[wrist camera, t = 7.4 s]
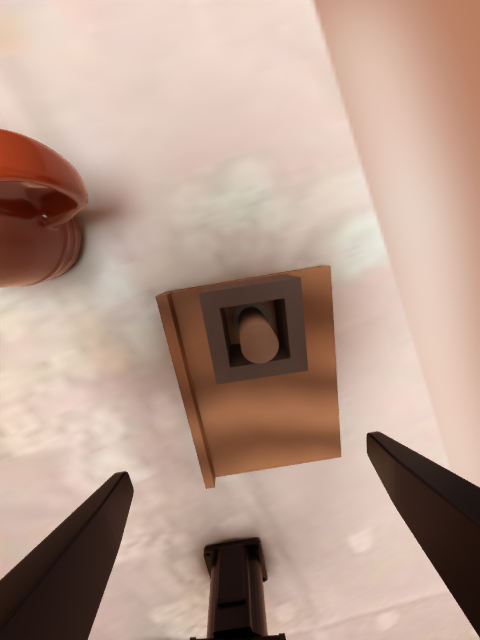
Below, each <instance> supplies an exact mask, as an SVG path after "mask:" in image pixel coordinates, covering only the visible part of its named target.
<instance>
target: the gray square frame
mask: <svg viewBox="0 0 480 640" xmlns="http://www.w3.org/2000/svg"><path fill="white" fill-rule="evenodd" d="M198 294H199V299H200V304H201V309H202V314H203V319H204V324H205V329H206V334H207V339H208V344H209V349H210V354H211V359H212V364H213V369H214V374H215V379H216V384H217V385H218V384H224V383H231V382H237V381H244V380H250V379H257V378H263V377H270V376H277V375H283V374H290V373H296V372H303V371H308V361H307V348H306V335H305V323H304V310H303V298H302V285H301V277H297V276H292V275H288V274H281V275H275V276H268V277H262V278H255V279H249V280H243V281H236V282H230V283H223V284H217V285H210V286H206V287H205V288H204V289H203V290H202V291H201V292H199V293H198ZM269 300H274V305H275V314H276V322H277V331H278V338H277V339H278V342H279V348H278V351H277V354H276V355H275V356H274V358H273V359H271V360H270V361H268V362H266V363H260V364H258V363H253V362H250V361H249V360H247V359H246V358H245V357H244V355H243V353H242V351H241V343H240V344H233V345H230V339H229V333H228V327H227V321H226V316H225V310H224V307H230V306H237V305H243V304H250V303H256V302H263V301H269Z"/></svg>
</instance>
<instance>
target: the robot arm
mask: <svg viewBox="0 0 480 640" xmlns="http://www.w3.org/2000/svg"><path fill="white" fill-rule="evenodd" d="M367 454H368V457H369V459H370V461H371V463H372V464H373V466H374V468H375V470H376V472H377V474H378V476H379V478H380V479H381V481H382V483H383V485H384V487H385V489H386V491H387V493H388V494H389V496H390V498H391V500H392V502H393V504H394V505H395V507H396V509H397V510H398V512H399V513H400V515H401V516H402V518H403V520H404V521H405V523H406V524H407V526H408V527H409V529H410V530H411V532H412V533H413V535H414V537H415V538H416V540H417V541H418V543H419V544H420V546H421V547H422V549H423V551H424V552H425V554H426V555H427V557H428V558H429V560H430V561H431V563H432V564H433V566H434V568H435V569H436V571H437V572H438V574H439V575H440V577H441V578H442V580H443V581H444V583H445V585H446V586H447V588H448V589H449V591H450V592H451V594H452V595H453V597H454V598H455V600H456V602H457V603H458V605H459V606H460V608H461V609H462V611H463V612H464V614H465V616H466V617H467V619H468V620H469V622H470V623H471V625H472V626H473V628H474V629H475V631H476V633H477V634H478V636H479V637H480V487H478V486H476V485H474V484H472V483H471V482H469V481H467V480H465V479H463V478H462V477H460V476H458V475H456V474H454V473H453V472H451V471H449V470H447V469H445V468H444V467H442V466H440V465H438V464H436V463H435V462H433V461H431V460H429V459H427V458H426V457H424V456H422V455H420V454H419V453H417V452H415V451H413V450H411V449H410V448H408V447H406V446H404V445H402V444H401V443H399V442H397V441H395V440H393V439H392V438H390V437H388V436H386V435H384V434H383V433H381V432H377V431H376V432H370V433H368V434H367ZM133 493H134V490H133V485H132V483H131V480H130V477H129V474H128V472H126V471H124V472H118V473H115V474H114V475H112V476H111V477H110V478H109V479H108V480H107V481H106V482H105V483H104V484H103V485H102V486H101V487H100V488H99V489H97V490H96V491H95V492H94V493H93V494H92V495H91V496H90V497H89V498H88V499H87V500H86V501H85V502H84V503H82V504H81V505H80V506H79V507H78V508H77V509H76V510H75V511H74V512H73V513H72V514H71V515H70V516H69V517H67V518H66V519H65V520H64V521H63V522H62V523H61V524H60V525H59V526H58V527H57V528H56V529H55V530H54V531H53V532H51V533H50V534H49V535H48V536H47V537H46V538H45V539H44V540H43V541H42V542H41V543H40V544H39V545H38V546H36V547H35V548H34V549H33V550H32V551H31V552H30V553H29V554H28V555H27V556H26V557H25V558H24V559H23V560H21V561H20V562H19V563H18V564H17V565H16V566H15V567H14V568H13V569H12V570H11V571H10V572H9V573H8V574H6V575H5V576H4V577H3V578H2V579H1V580H0V640H88V637H89V634H90V631H91V628H92V625H93V623H94V620H95V617H96V614H97V611H98V608H99V605H100V602H101V600H102V597H103V594H104V591H105V588H106V585H107V582H108V579H109V576H110V574H111V571H112V568H113V565H114V562H115V559H116V556H117V553H118V550H119V547H120V543H121V540H122V536H123V532H124V529H125V525H126V521H127V517H128V513H129V510H130V506H131V502H132V498H133ZM204 558H205V561H206V565H207V568H208V572H209V575H210V578H211V582H210V596H209V611H208V626H207V638H206V639H196V637H191V638H190V640H286V638H285V633H279V635H272V636H268V633H267V622H266V612H265V601H264V591H263V582H265V581H267V572H266V566H265V561H264V556H263V551H262V546H261V541H260V540H258V539H254V540H248V541H241V542H235V543H229V544H222V545H216V546H210V547H206V548H205V549H204Z"/></svg>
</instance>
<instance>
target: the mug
mask: <svg viewBox="0 0 480 640" xmlns="http://www.w3.org/2000/svg"><path fill="white" fill-rule="evenodd" d="M87 203H88V195H87V191H86V188H85V186H84V183H83V181H82V178H81V177H80V175H79V173H78V172H77V170H76V169H75V168H74V167H73V166H72V165H71V164H70V163H69V162H68V161H67V160H66V159H64V158H63V157H62V156H61V155H59V154H58V153H57V152H55V151H54V150H52V149H50V148H49V147H47V146H45V145H43V144H42V143H40V142H38V141H36V140H34V139H31V138H29V137H27V136H24V135H22V134H19V133H15V132H12V131H8V130H3V129H0V288H4V287H13V286H29V285H34V284H37V283H40V282H43V281H45V280H49V279H52V278H55V277H57V276H60V275H62V274H63V273H65V272H66V271H67V270H68V269H69V268H70V267H71V266H72V265H73V264H74V262H75V260H76V258H77V256H78V254H79V250H80V246H81V233H80V228H79V225H78V221H77V219H76V216H75V215H76V214H77V213H79V212H80V211H81V210H83V209H84V208H85V207H86V206H87Z"/></svg>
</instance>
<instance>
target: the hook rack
mask: <svg viewBox="0 0 480 640" xmlns="http://www.w3.org/2000/svg"><path fill="white" fill-rule="evenodd" d="M281 274H288V275H292V276H297V277H301V285H302V298H303V310H304V323H305V335H306V348H307V361H308V371H303V372H296V373H290V374H283V375H277V376H270V377H263V378H257V379H250V380H244V381H237V382H231V383H224V384H218V385H217V384H216V379H215V374H214V369H213V364H212V359H211V354H210V349H209V344H208V339H207V334H206V329H205V324H204V319H203V314H202V309H201V304H200V299H199V294H198V293H199V292H201V291H202V290H203V289H204V288H205V287H206V286H210V285H205V286H199V287H193V288H187V289H181V290H175V291H169V292H164V293H162V294H160V295H158V296H156V300H157V304H158V308H159V312H160V315H161V319H162V323H163V327H164V331H165V334H166V338H167V342H168V346H169V350H170V353H171V357H172V361H173V365H174V369H175V372H176V376H177V380H178V384H179V388H180V391H181V395H182V399H183V403H184V407H185V410H186V414H187V418H188V422H189V426H190V429H191V433H192V437H193V441H194V445H195V448H196V452H197V456H198V460H199V464H200V467H201V471H202V475H203V479H204V483H205V486H206V489H207V488H214V487H215V477H219V476H226V475H232V474H238V473H244V472H251V471H257V470H263V469H269V468H276V467H282V466H288V465H294V464H301V463H307V462H313V461H319V460H326V459H332V458H338V457H341V444H340V426H339V409H338V391H337V374H336V356H335V338H334V321H333V303H332V286H331V268H330V266H318V267H312V268H306V269H300V270H294V271H288V272H282V273H276V274H270V275H264V276H259V277H253V278H247V279H241V280H235V281H229V282H223V283H230V282H236V281H243V280H249V279H255V278H262V277H268V276H275V275H281ZM223 283H217V284H223ZM217 284H211V285H217ZM224 310H225V316H226V321H227V327H228V333H229V339H230V345H233V344H240V343H241V351H242V353H243V355H244V357H245V358H246V359H247V360H249V361H250V362H253V363H258V364H260V363H266V362H268V361H270V360H271V359H273V358H274V356H275V355H276V354H277V351H278V348H279V342H278V339H277V338H278V331H277V322H276V314H275V305H274V300H269V301H263V302H256V303H250V304H243V305H237V306H230V307H224Z"/></svg>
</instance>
